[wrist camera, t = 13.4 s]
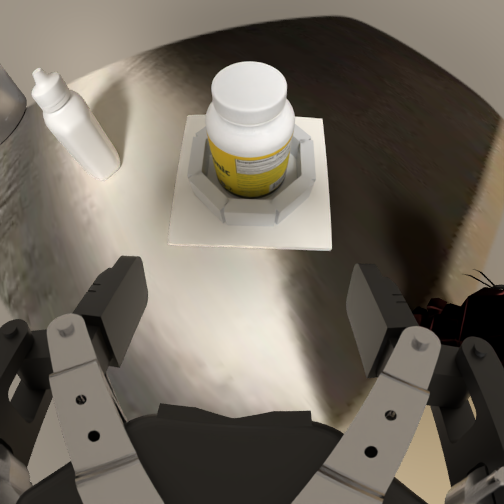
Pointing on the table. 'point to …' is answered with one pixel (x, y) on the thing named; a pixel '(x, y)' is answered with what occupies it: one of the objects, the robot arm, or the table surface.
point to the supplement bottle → (250, 129)
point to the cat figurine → (467, 318)
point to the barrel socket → (251, 210)
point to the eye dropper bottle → (75, 125)
